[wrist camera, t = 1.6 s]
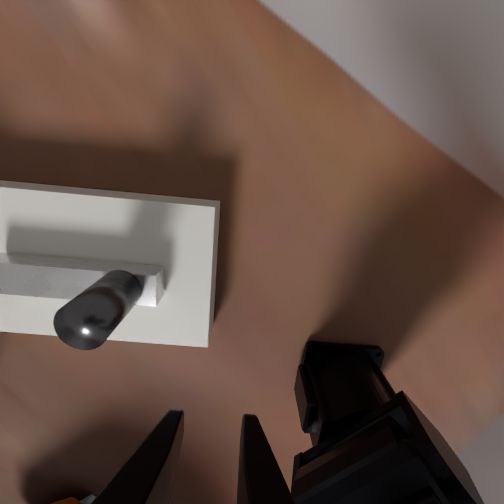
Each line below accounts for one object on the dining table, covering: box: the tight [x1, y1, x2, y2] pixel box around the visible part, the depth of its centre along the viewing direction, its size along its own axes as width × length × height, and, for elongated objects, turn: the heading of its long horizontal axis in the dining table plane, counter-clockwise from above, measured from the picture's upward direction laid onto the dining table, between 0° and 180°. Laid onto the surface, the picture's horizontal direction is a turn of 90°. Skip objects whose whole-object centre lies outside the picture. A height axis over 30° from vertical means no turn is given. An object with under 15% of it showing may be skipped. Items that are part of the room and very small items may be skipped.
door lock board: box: [0, 180, 220, 347], centre depth 17 cm, size 24×10×6 cm, turn 85°
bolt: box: [0, 252, 164, 350], centre depth 15 cm, size 10×2×6 cm, turn 85°
